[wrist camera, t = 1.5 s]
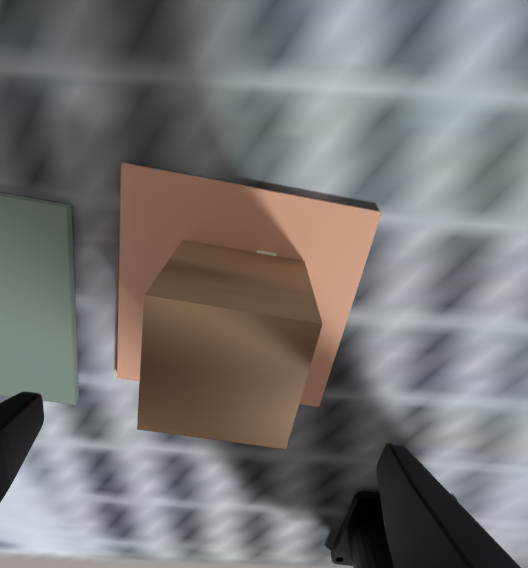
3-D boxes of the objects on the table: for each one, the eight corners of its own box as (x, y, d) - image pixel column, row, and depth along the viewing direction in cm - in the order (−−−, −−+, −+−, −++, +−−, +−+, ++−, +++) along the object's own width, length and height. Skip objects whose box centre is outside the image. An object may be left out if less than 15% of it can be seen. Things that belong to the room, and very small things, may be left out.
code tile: (318, 402, 18) (319, 407, 18) (119, 373, 17) (116, 378, 17) (379, 210, 14) (382, 212, 14) (123, 162, 13) (120, 163, 13)
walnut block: (280, 360, 17) (285, 449, 12) (173, 343, 16) (137, 429, 12) (304, 261, 15) (322, 323, 10) (182, 239, 14) (144, 295, 10)
